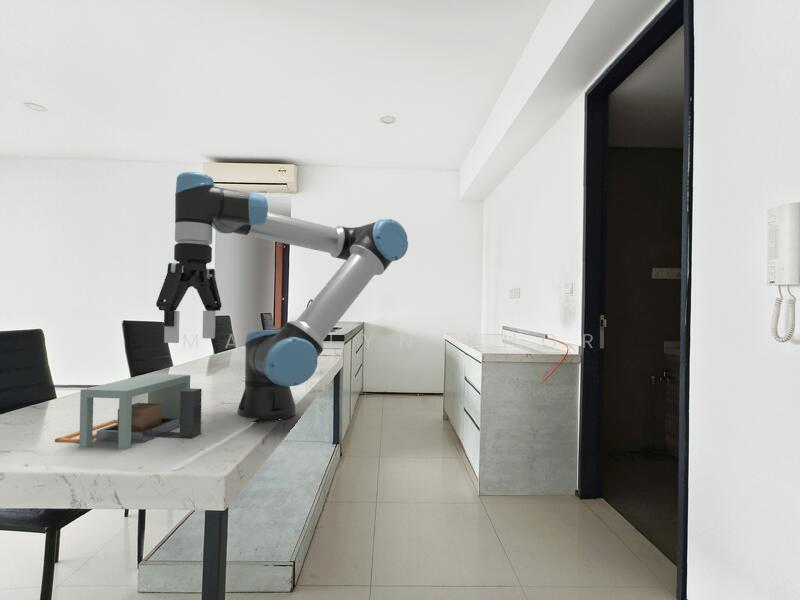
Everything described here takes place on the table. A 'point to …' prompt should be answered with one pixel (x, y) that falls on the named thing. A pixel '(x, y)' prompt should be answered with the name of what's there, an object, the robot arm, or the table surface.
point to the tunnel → (159, 392)
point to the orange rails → (69, 437)
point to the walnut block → (145, 416)
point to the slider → (166, 422)
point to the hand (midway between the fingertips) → (191, 340)
